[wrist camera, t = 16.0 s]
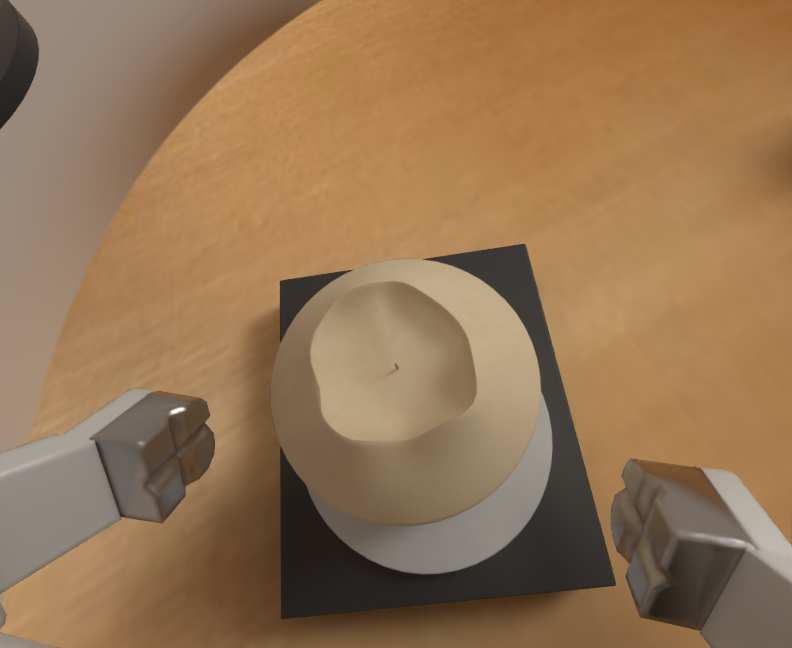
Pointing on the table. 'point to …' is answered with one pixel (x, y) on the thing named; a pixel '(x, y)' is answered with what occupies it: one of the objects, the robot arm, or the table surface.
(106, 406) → the robot arm
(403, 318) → the candle
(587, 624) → the table surface
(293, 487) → the scale
